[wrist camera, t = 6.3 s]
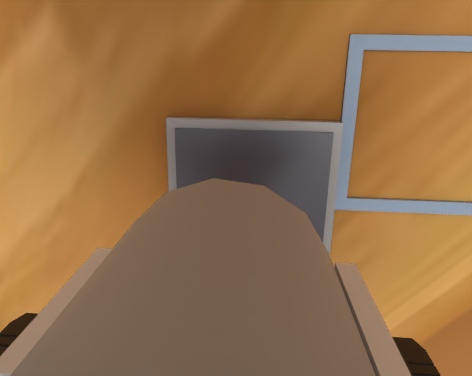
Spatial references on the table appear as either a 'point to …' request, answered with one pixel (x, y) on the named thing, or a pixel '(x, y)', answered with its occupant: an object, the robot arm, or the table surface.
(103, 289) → the cup
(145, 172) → the table surface
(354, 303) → the robot arm
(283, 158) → the pad
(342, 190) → the marked square
